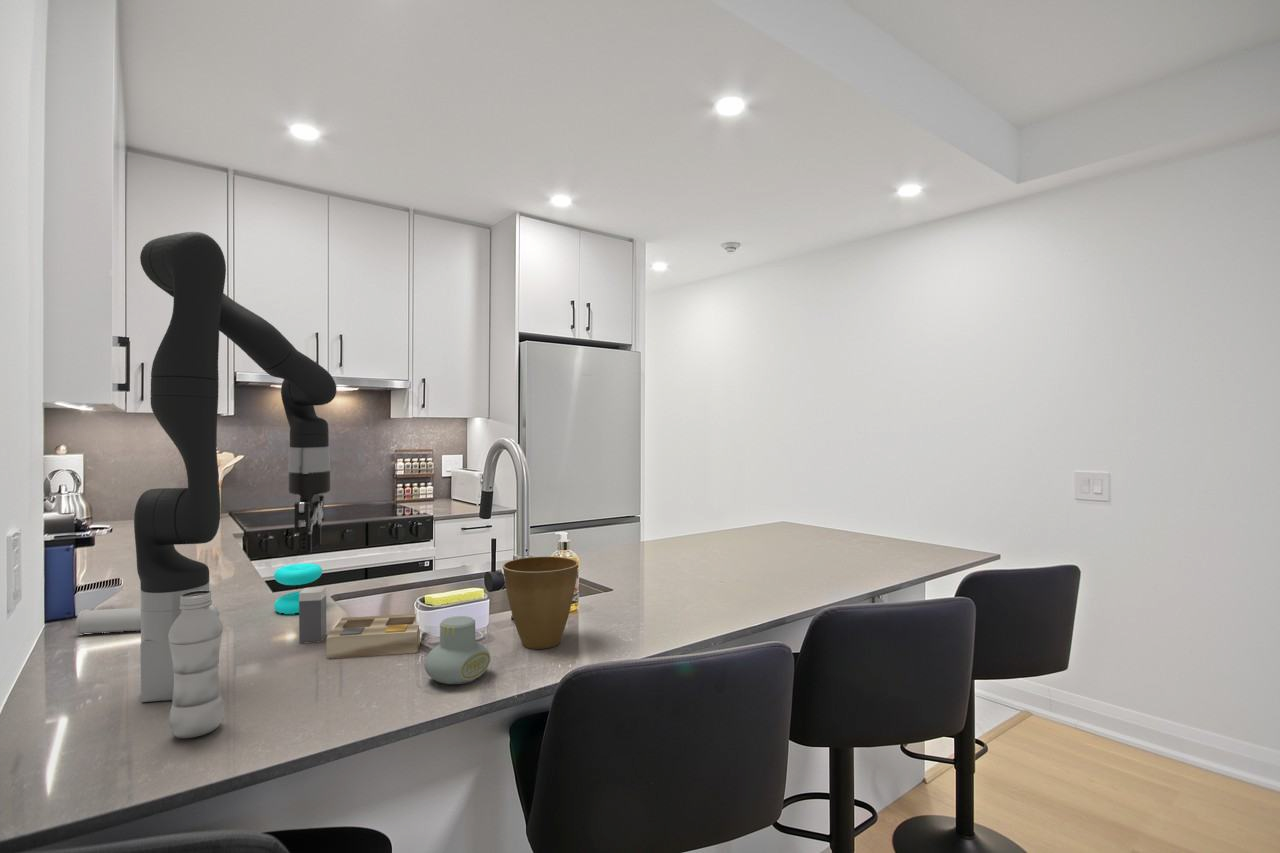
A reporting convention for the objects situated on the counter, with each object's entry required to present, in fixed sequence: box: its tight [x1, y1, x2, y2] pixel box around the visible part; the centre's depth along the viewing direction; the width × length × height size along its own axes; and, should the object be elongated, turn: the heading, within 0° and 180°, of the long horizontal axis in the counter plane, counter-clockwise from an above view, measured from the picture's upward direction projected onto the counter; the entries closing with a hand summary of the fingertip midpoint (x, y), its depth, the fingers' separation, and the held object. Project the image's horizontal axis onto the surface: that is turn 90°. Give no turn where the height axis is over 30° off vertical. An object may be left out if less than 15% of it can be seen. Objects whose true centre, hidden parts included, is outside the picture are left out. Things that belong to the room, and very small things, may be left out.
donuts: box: [273, 562, 323, 615], centre depth 153 cm, size 10×10×10 cm
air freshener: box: [424, 615, 491, 685], centre depth 113 cm, size 11×8×10 cm
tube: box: [74, 604, 220, 635], centre depth 138 cm, size 5×5×25 cm
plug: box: [298, 586, 327, 644], centre depth 132 cm, size 4×4×10 cm
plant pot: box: [502, 555, 579, 650], centre depth 131 cm, size 15×15×16 cm
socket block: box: [326, 613, 421, 660], centre depth 129 cm, size 12×16×4 cm
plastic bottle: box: [168, 589, 225, 739], centre depth 93 cm, size 6×7×20 cm
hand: (310, 549), depth 133 cm, fingers open, 8 cm apart
